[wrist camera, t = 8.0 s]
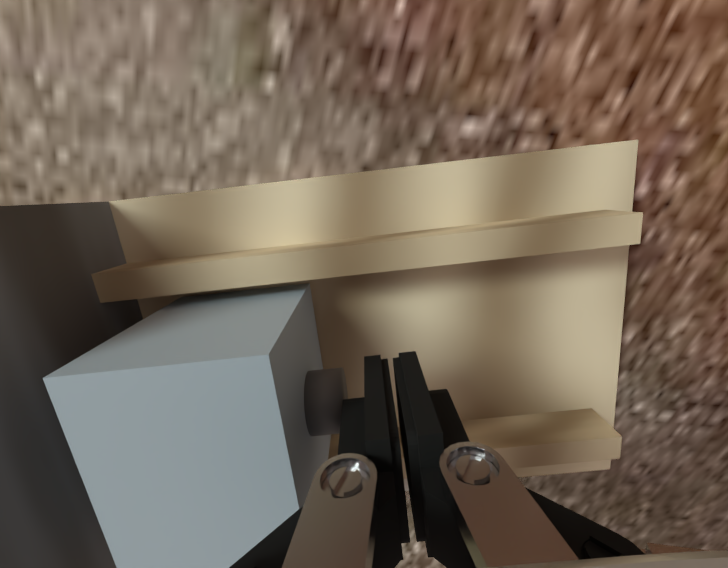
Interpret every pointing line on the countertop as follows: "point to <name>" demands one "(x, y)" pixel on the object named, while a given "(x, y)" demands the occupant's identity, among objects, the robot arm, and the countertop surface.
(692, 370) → the countertop surface
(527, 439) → the board
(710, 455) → the countertop surface
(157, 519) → the grey cube with peg
